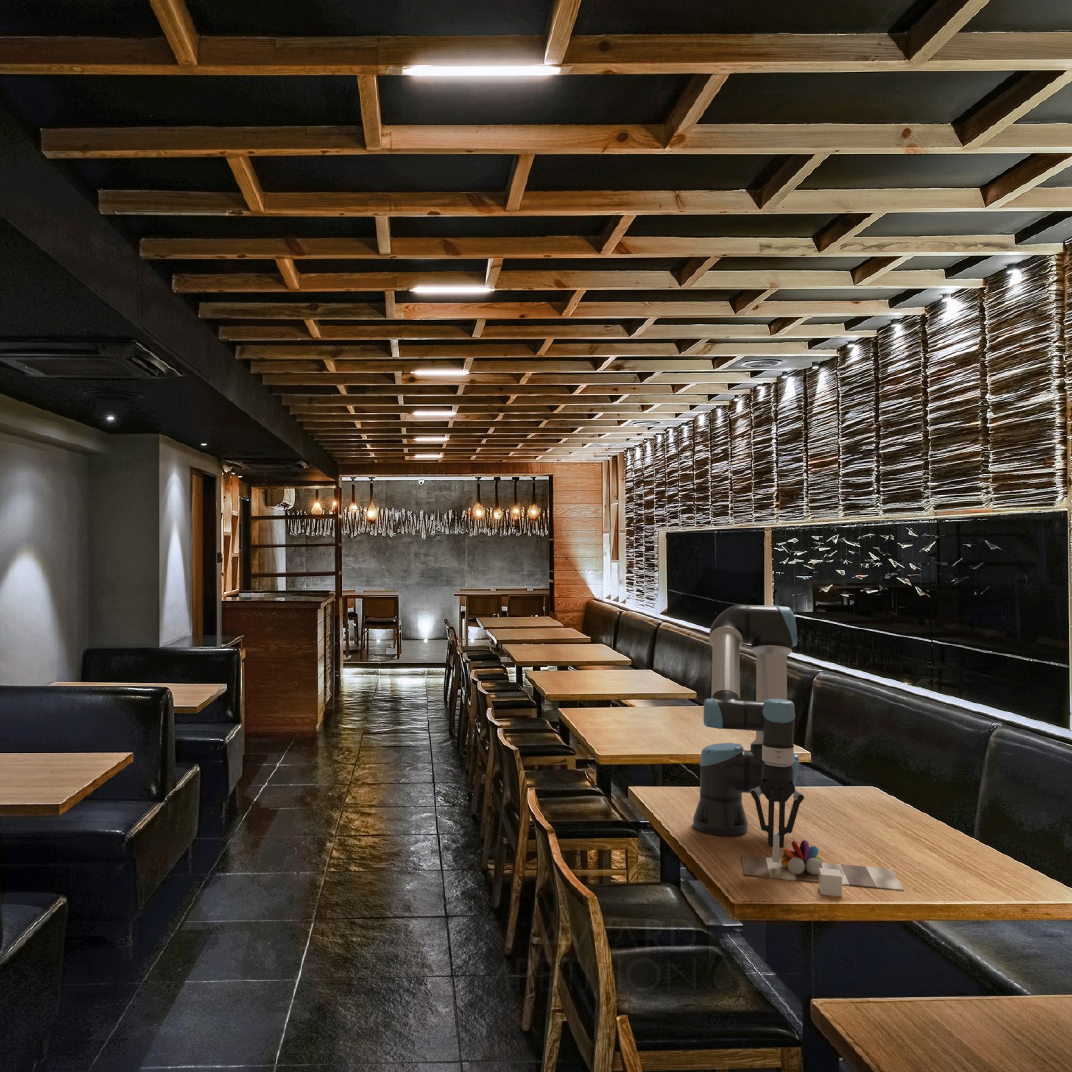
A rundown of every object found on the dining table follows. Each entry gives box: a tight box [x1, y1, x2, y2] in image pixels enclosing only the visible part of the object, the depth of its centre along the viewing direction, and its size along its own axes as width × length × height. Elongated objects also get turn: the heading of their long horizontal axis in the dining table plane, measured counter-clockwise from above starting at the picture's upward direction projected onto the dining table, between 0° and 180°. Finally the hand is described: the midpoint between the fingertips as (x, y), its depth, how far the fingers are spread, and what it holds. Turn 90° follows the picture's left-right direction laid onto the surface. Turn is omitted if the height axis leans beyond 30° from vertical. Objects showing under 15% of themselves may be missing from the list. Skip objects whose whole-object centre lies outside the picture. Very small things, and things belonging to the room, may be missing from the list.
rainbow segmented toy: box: [781, 839, 823, 875], centre depth 208 cm, size 8×10×7 cm
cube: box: [818, 868, 843, 897], centre depth 195 cm, size 4×4×4 cm
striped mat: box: [741, 854, 905, 892], centre depth 207 cm, size 36×14×1 cm, turn 79°
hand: (775, 860), depth 209 cm, fingers closed
